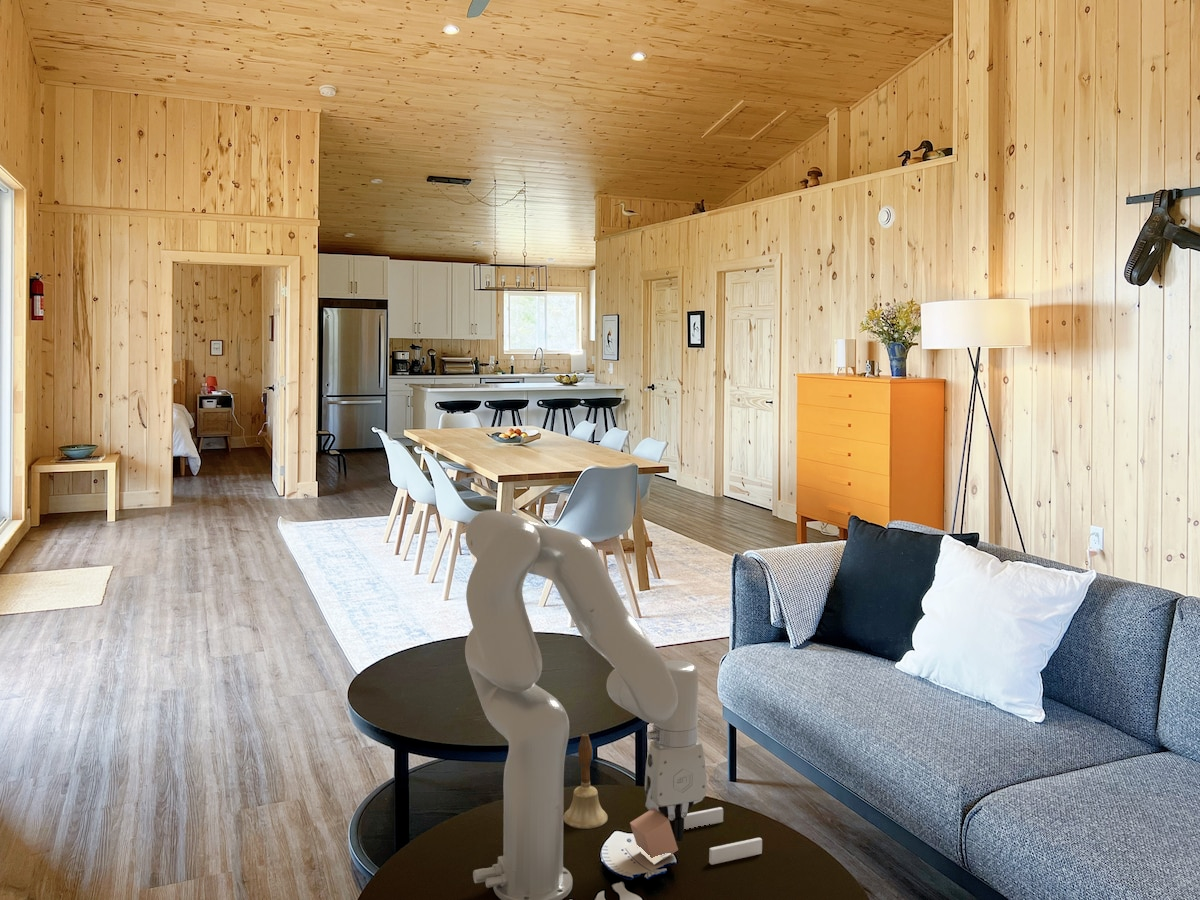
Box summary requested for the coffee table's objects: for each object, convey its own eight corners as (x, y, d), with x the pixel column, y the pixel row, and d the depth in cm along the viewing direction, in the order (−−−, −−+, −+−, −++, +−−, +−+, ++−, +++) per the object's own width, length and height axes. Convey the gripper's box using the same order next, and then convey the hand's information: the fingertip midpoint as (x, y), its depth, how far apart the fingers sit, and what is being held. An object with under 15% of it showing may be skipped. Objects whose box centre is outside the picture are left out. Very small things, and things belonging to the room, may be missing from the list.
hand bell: (595, 832, 165) (596, 745, 164) (555, 823, 169) (555, 737, 168) (614, 814, 172) (616, 730, 172) (575, 805, 176) (576, 723, 175)
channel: (711, 864, 154) (711, 850, 154) (673, 829, 166) (673, 816, 166) (761, 853, 158) (762, 839, 158) (720, 820, 170) (721, 806, 170)
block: (654, 865, 153) (644, 835, 152) (639, 852, 158) (629, 822, 157) (678, 849, 155) (668, 819, 154) (663, 837, 160) (653, 807, 159)
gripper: (646, 748, 151) (644, 856, 152) (724, 735, 157) (722, 840, 158) (626, 732, 158) (625, 836, 159) (702, 721, 164) (700, 821, 165)
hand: (674, 838), depth 159 cm, fingers closed
